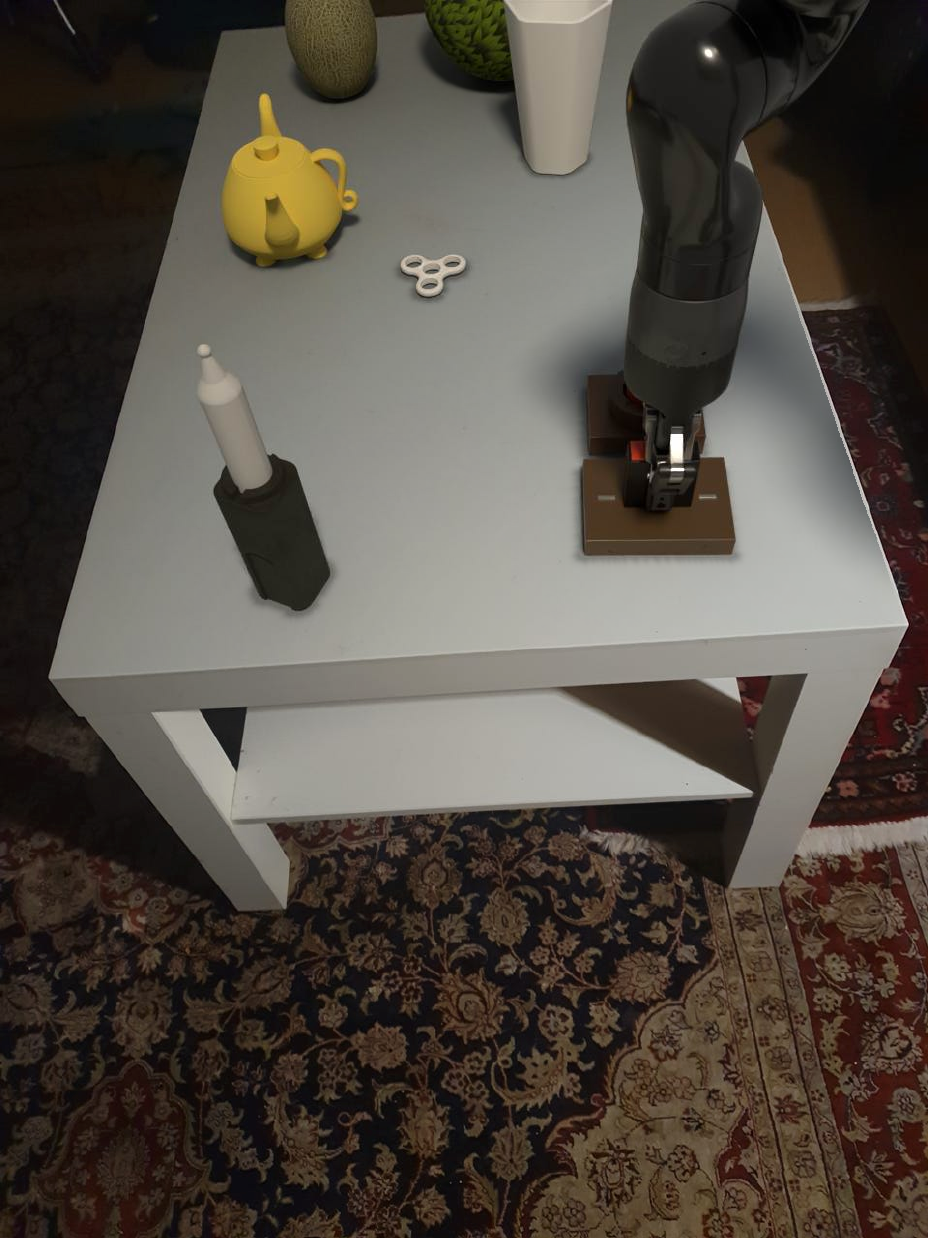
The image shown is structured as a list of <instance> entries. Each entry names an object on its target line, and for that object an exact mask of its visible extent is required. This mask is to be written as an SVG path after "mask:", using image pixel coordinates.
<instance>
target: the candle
mask: <svg viewBox="0 0 928 1238" xmlns="http://www.w3.org/2000/svg"><path fill="white" fill-rule="evenodd" d="M197 355H198V356H200V364H201V365H200V371H201V377H200V379H199V381H198V385H197V387H196V397H197V399H198V401H199V404H200V406H201V408H202V411H203V413H204V415H205V418H206V420H207V423H208V425H209V427H210V430H211V432H212V434H213V437H214V439H215V441H216V444H217V446H218V449H219V451H220V454H221V456H222V458H223V461H224V463H225V465H224V467H223V469H222V470H221V474H220V478H219V479H218V481H216V483H215V485H214V486H213V488H212V489H213V490H212V492H213V493H212V494H213V496H214V498H215V501H216V503H217V505H218V508H219V509H220V512H221V514H222V516H223V518H224V521H225V523H226V525H227V528H228V530H229V532H230V534H231V536H232V538H233V541H234V543H235V545H236V547H237V549H238V552H239V553H240V556H241V558H242V560H243V563H244V565H245V567H246V569H247V571H248V574H249V576H250V578H251V581H252V582H253V584H254V587H255V589H256V591H257V593H258V595H259V597H260V598H261V599H263V600H265V601H267V600H270V601H273V602H275V603H279V604H282V605H284V606H288V607H289V608H290V609H291V610H292V611H296V612H298V611H300V612H301V611H304V610H307V609H308V608H310V607H311V606H312V605H313V603H314V602H315V600H316V598H317V597H318V595H319V594H320V592H321V591H322V589H323V588H324V586H325V584H326V583H327V581H328V579H329V578H330V576H331V569H330V566H329V564H328V561H327V560H328V559H327V557H326V554H325V551H324V548H323V545H322V542H321V539H320V536H319V533H318V530H317V526H316V523H315V521H314V518H313V515H312V511H311V508H310V505H309V503H308V499H307V496H306V493H305V489H304V486H303V484H302V481H301V478H300V475H299V471H298V469H297V467H296V465H295V464H294V463H293V462H291V461H289V460H286V459H283V458H280V457H279V456H278V455H276V454H275V453H273V452H272V453H271V454H268V453H267V450H266V447H265V445H264V442H263V439H262V436H261V433H260V431H259V428H258V425H257V421H256V419H255V416H254V413H253V411H252V409H251V408H252V407H251V405H250V403H249V400H248V397H247V394H246V392H245V388H244V386H243V384H242V383H243V382H242V381H241V379H240V378H239V376H237V375H236V374H235V373H233V372H231V371H229V370H228V369H226V368H224V367H223V365H222V364H221V363H220V362H219V361H218V359H216V357H215V356H214V355H213V354H212V348H211V347H210V345H208V344H206V343H202V344H199V346H198V348H197Z"/></svg>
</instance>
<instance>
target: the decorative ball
mask: <svg viewBox="0 0 928 1238" xmlns="http://www.w3.org/2000/svg"><path fill="white" fill-rule="evenodd" d="M422 5H423V11H424V14H425V18H426V21H427V24H428V26H429V29H430V32H431V33H432V36H433V38H434V39H435V41H436V43H437V44H438V46H439V47H440V49H441V50H442V51H443V53H444V54H445V55H446V56H447V58H449V59H450V60H451V62H453V63H454V64H455V65H457V67H459V68H461V69H462V70H464V72H466V73H469V74H471V75H473V76H475V77H477V78H480V79H484V80H486V81H487V80H488V81H494V82H508V81H514V75H513V67H512V60H511V52H510V45H509V38H508V30H507V23H506V15H505V8H504V0H422Z"/></svg>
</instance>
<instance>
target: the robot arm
mask: <svg viewBox="0 0 928 1238" xmlns="http://www.w3.org/2000/svg"><path fill="white" fill-rule="evenodd" d="M869 2H870V0H694V1H693V2H691V3H690V4H688V5H687V6H685V7H683V8H682V9H680V10H678V11H676V12H674V13H673V14H671V15H670V16H668V17H667V18H666V19H664V20H662V21H661V22H660V23H659V24H657V26H656V25H655V27H654V28H653V29H652V30H651V31H650V32H649V34H648V35H647V36H646V37H645V39H644V40H643V42H642V44H641V45H640V47H639V49H638V51H637V53H636V55H635V57H634V61H633V65H632V67H631V71H630V74H629V77H628V82H627V87H626V93H625V94H626V95H625V118H626V120H625V121H626V127H627V132H628V139H629V143H630V149H631V154H632V160H633V165H634V171H635V178H636V182H637V188H638V192H639V196H640V200H641V205H642V215H641V223H640V232H639V241H638V253H637V262H636V269H635V273H634V276H633V280H632V284H631V288H630V296H629V302H628V303H629V305H628V315H627V316H628V317H627V325H626V335H625V336H626V337H625V344H624V345H625V346H624V356H623V367H622V370H623V375H624V380H625V383H626V385H627V387H628V388H629V390H630V391H631V392H632V393H633V395H634V396H636V397H637V398H638V399H639V400H641V401H642V402H643V414H642V421H643V430H644V431H646V436H644V442H645V458H646V461H647V462H648V463H649V471H648V472H647V478H648V484H647V491H646V498H645V505H646V509H647V510H670V509H672V508H673V504H674V498H675V495H683V494H684V493H685V491H686V490H687V488H688V487H689V485H690V484H691V482H692V481H693V479H694V475H695V474H696V467H695V464H694V462H691V456H692V450H693V444H694V438H695V434H696V433H697V432H698V431H699V428H700V422H701V409H703V408H706V407H707V406H709V405H711V404H712V403H714V402H716V401H717V400H718V399H720V397H721V396H722V395H723V394H725V392H726V390H727V389H728V387H729V385H730V381H731V379H732V372H733V369H734V364H735V359H736V356H737V350H738V347H739V342H740V337H741V332H742V327H743V323H744V318H745V315H746V311H747V306H748V298H749V297H748V296H749V281H750V275H751V274H750V273H751V269H752V264H753V260H754V255H755V251H756V246H757V241H758V236H759V233H760V232H759V231H760V227H761V222H762V216H763V208H764V199H763V198H764V197H763V195H764V193H763V189H762V186H761V182H760V180H759V179H758V177H757V176H756V174H755V173H754V171H752V170H751V169H750V168H749V167H748V166H747V165H746V164H744V163H742V162H739V161H738V160H736V158H737V154H738V151H739V148H740V146H741V144H742V142H743V141H744V140H745V139H747V138H749V137H750V136H751V135H752V134H754V133H755V132H756V131H758V130H760V129H761V128H762V127H764V126H765V125H766V124H768V123H769V122H771V121H772V120H774V119H775V118H777V116H779V115H780V114H782V113H784V111H786V110H787V109H788V108H789V107H790V106H792V105H793V104H794V103H795V102H797V100H798V99H799V98H800V97H801V96H803V94H804V93H805V92H806V91H807V90H808V89H809V88H810V87H811V86H812V85H813V83H814V82H815V81H816V80H817V79H818V78H819V77H820V75H821V74H822V73H823V72H824V70H825V69H826V68H827V67H828V66H829V64H830V63H831V62H832V60H833V59H834V57H835V56H836V55H837V53H838V52H839V50H840V49H841V48H842V46H843V44H844V43H845V41H846V40H847V38H848V37H849V35H850V34H851V32H852V30H853V28H855V26H856V24H857V22H858V21H859V19H860V18H861V16H862V15H863V13H864V11H865V10H866V8H867V6H868V4H869ZM654 442H655V444H654Z"/></svg>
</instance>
